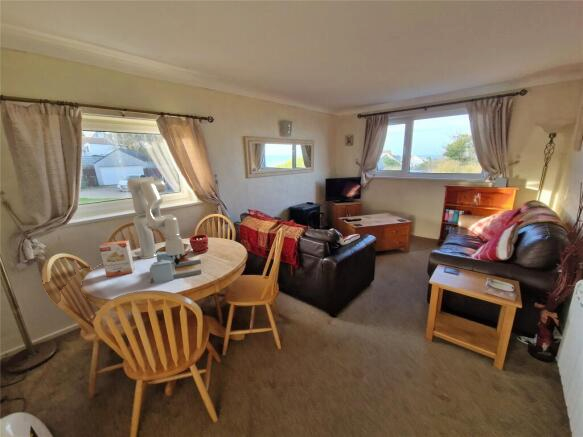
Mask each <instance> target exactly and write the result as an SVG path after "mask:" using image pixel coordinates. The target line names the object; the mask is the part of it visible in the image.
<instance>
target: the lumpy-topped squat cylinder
mask: <svg viewBox="0 0 583 437" xmlns="http://www.w3.org/2000/svg"><path fill="white" fill-rule="evenodd" d="M160 261H165V260H160ZM169 262H171V267H172V273H173V274H176V269H175V267H174V262H172V261H169ZM152 264H154V262H153V263H152ZM152 264H151V265H152ZM151 265H150V267H149V272H150V278H153V274H152V269H151Z"/></svg>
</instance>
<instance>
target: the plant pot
mask: <svg viewBox="0 0 583 437" xmlns="http://www.w3.org/2000/svg"><path fill="white" fill-rule="evenodd" d="M189 245H190V247H191V249H192V253H194V254H204V253H206V252H207V251H208V250H209V237H208V235H207V234H197V235H193V236H190V237H189Z"/></svg>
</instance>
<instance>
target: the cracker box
mask: <svg viewBox="0 0 583 437" xmlns="http://www.w3.org/2000/svg"><path fill="white" fill-rule="evenodd" d="M98 247H99V251H100V255H101V259H102V263H103V264H102V265H103V268H104V271H105V275H106V277H107V278H108V277H114V276H120V275H121V276H122V275H128V274H132V273H134V271H135V264H134V259H133V255H132V251H131V245H130V240H121V241H120V240H119V241H110V242H103V243H101V244H100V245H99V246H98Z"/></svg>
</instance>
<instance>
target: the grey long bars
mask: <svg viewBox="0 0 583 437" xmlns="http://www.w3.org/2000/svg"><path fill="white" fill-rule="evenodd" d="M198 264H202V261H201V258H200V259H193V260H187V261H183V262H181V261H180V263H179V264H177V265H176V263H174V267H175V268H181V267H186V266H193V265H198ZM200 274H202V269H195V270H189V271H182V272H179V273H175V274H173V280H175V279H179V278H185V277H190V276H197V275H200ZM149 279H150V280H149V281H150V284H154V279H153V278H151V277H150V278H149Z"/></svg>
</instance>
